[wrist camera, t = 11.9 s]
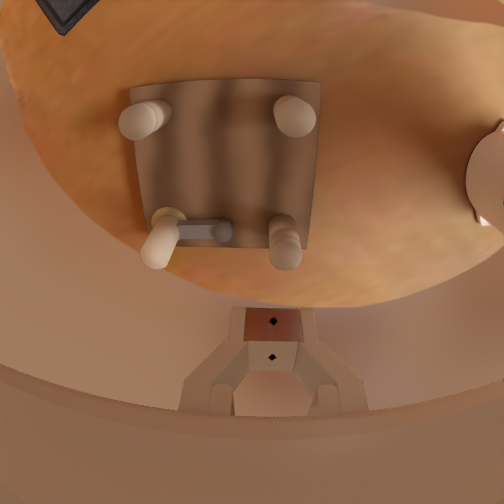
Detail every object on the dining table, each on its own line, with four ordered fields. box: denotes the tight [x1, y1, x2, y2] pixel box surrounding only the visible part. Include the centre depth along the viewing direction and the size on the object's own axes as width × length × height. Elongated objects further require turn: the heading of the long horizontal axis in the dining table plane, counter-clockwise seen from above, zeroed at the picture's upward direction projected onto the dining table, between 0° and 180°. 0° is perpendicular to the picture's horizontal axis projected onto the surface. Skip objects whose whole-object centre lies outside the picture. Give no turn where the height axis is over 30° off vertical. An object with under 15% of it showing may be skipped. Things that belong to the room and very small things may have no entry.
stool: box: [118, 79, 322, 270], centre depth 33 cm, size 22×22×10 cm
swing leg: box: [139, 216, 234, 270], centre depth 36 cm, size 10×4×7 cm, turn 91°
